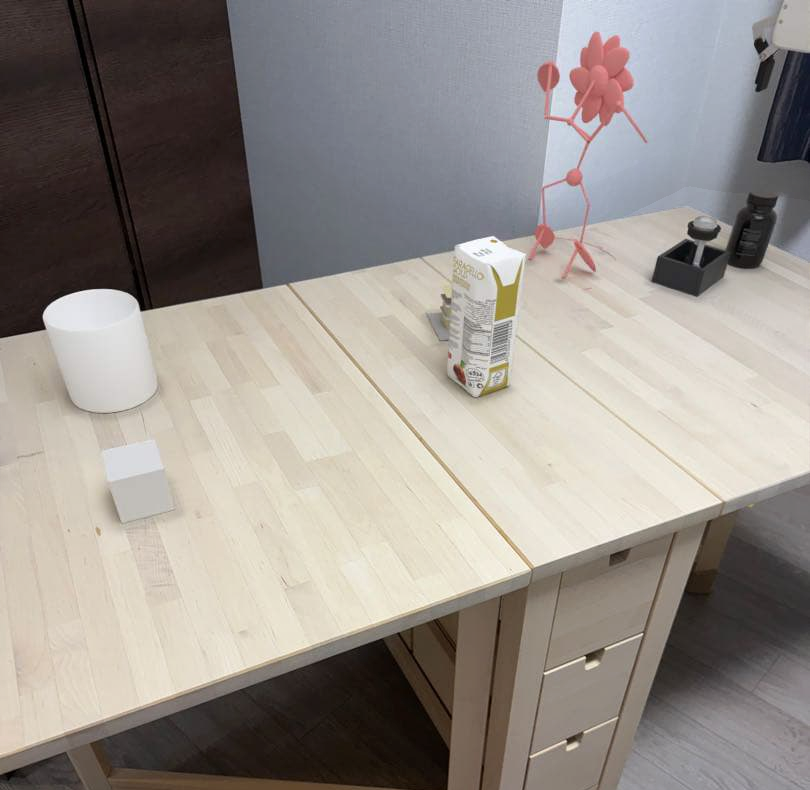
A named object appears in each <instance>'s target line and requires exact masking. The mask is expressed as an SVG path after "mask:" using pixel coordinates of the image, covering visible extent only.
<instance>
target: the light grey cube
mask: <svg viewBox="0 0 810 790" xmlns="http://www.w3.org/2000/svg"><path fill="white" fill-rule="evenodd" d="M100 455H101V459H102V464H103V467H104V472H105V477H106V480H107V484H108V487H109V489H110V492H111V496H112V499H113V502H114V504H115V507H116V510H117V513H118V516H119V519H120V522H121V524H125V523H129V522H133V521H136V520H140V519H141V520H142V519H144V518H148V517H152V516H156V515H161V514H164V513H168V512H172V511H176V507H175V503H174V500H173V496H172V492H171V488H170V485H169V481H168V477H167V474H166V468H165V466H164V463H163V461H162V458H161V454H160V451H159V447H158V445H157V443H156V439H155V438H152V439H147V440H144V441H138V442H134V443H130V444H126V445H121V446H116V447H111V448H108V449H104V450H100Z"/></svg>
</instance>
